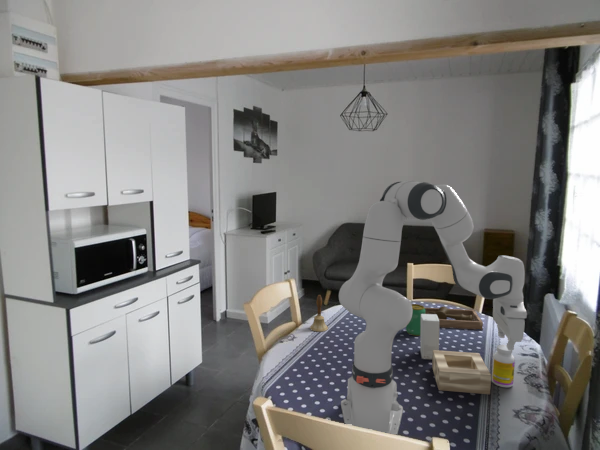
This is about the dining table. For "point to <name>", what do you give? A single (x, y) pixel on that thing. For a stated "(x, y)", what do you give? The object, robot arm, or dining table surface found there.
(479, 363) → the birch tray frame
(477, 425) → the dining table surface
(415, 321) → the beverage can
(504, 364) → the supplement bottle
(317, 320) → the hand bell
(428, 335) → the skincare box
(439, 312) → the kendama
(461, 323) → the walnut tray frame
